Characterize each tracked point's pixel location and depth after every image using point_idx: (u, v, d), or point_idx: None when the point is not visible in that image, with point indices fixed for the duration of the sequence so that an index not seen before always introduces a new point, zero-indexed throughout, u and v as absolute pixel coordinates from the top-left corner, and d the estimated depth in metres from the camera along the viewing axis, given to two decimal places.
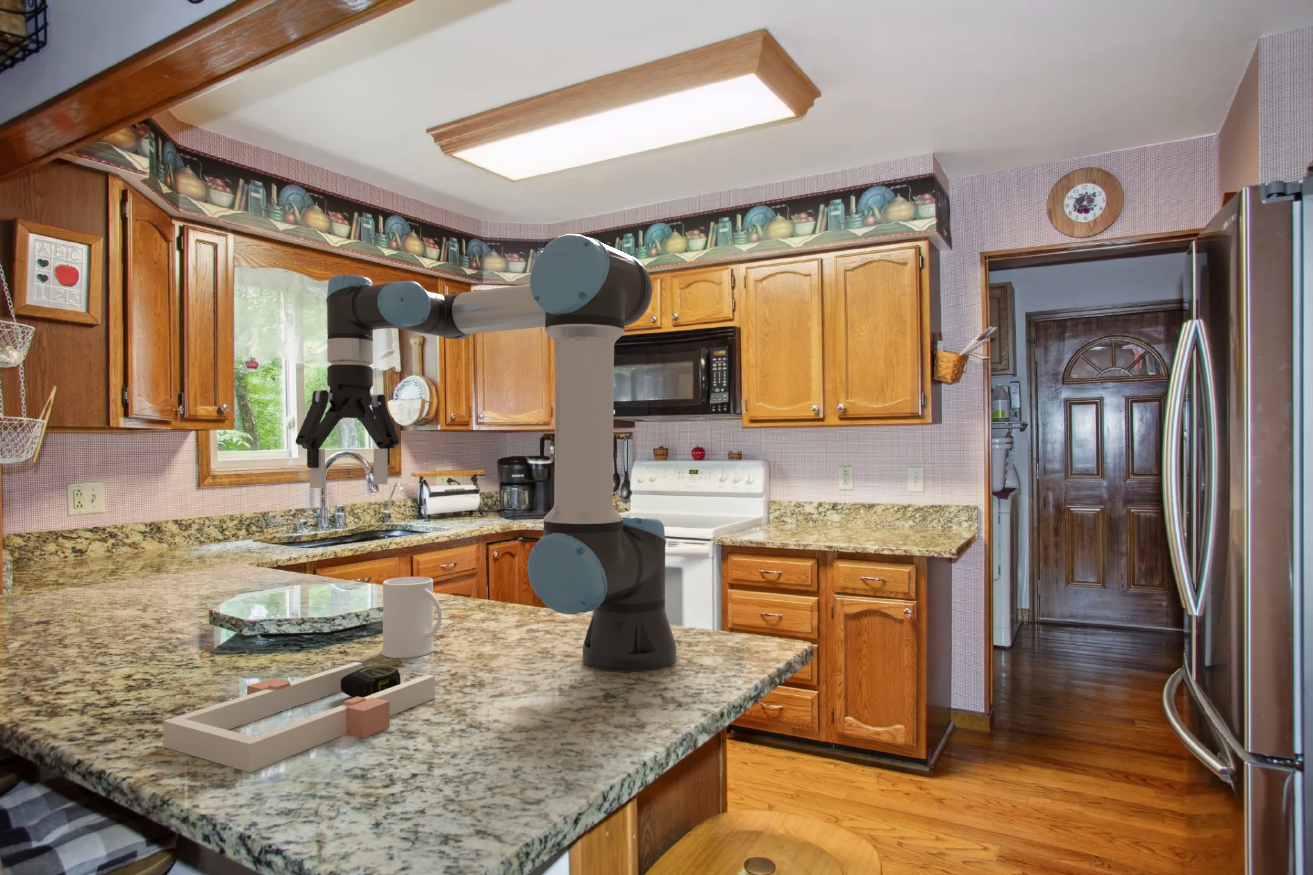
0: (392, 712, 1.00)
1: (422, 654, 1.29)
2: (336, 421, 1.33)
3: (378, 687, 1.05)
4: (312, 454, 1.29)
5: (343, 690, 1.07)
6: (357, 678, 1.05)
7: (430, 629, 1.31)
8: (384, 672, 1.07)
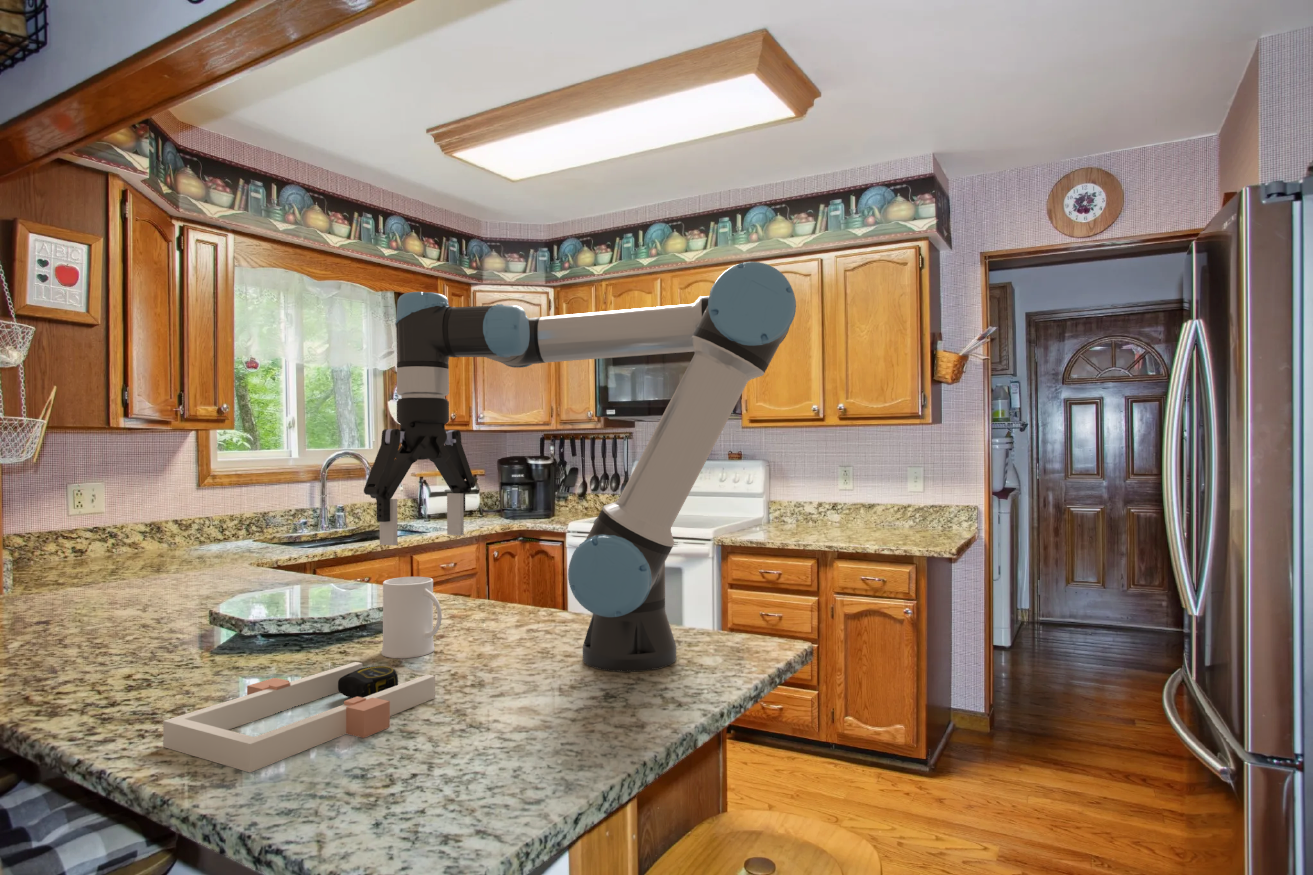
0: (392, 712, 1.00)
1: (422, 654, 1.29)
2: (409, 465, 1.13)
3: (375, 687, 1.05)
4: (383, 505, 1.09)
5: (340, 691, 1.06)
6: (355, 678, 1.05)
7: (430, 629, 1.31)
8: (382, 673, 1.07)
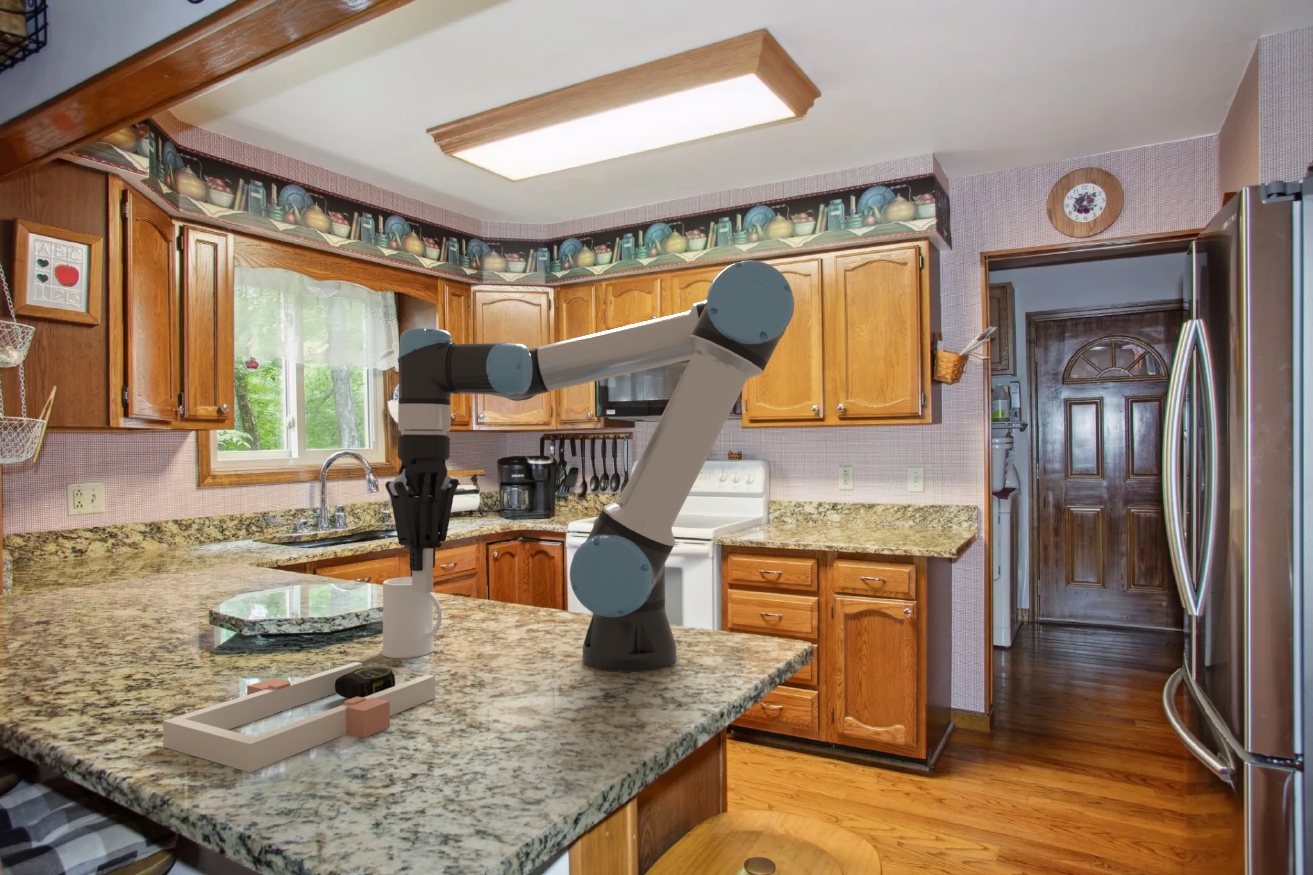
0: (392, 712, 1.00)
1: (422, 654, 1.29)
2: (424, 507, 1.15)
3: (372, 688, 1.04)
4: (416, 555, 1.14)
5: (337, 691, 1.06)
6: (352, 679, 1.05)
7: (430, 629, 1.31)
8: (379, 674, 1.07)
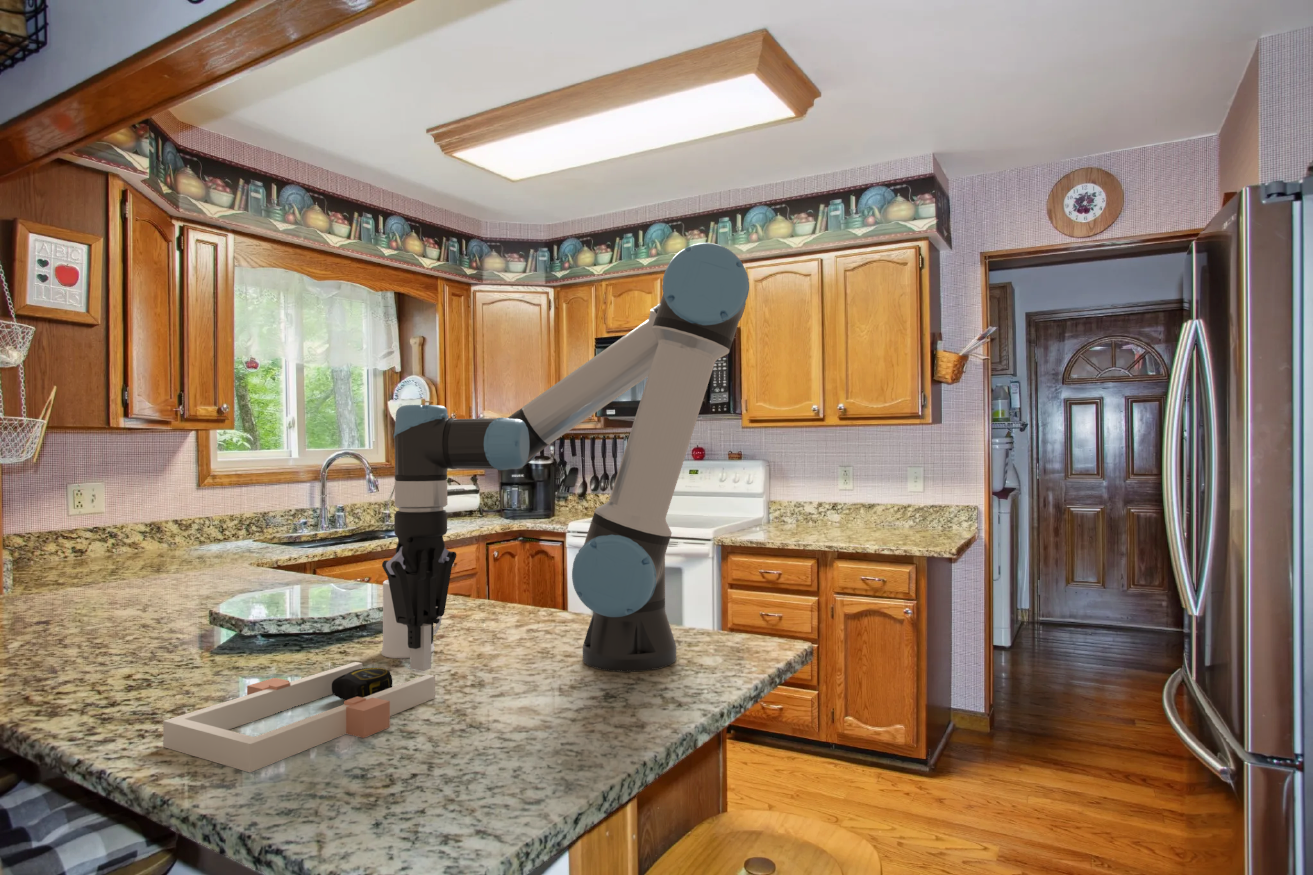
0: (392, 712, 1.00)
1: None
2: (421, 584, 1.14)
3: (369, 689, 1.04)
4: (414, 633, 1.14)
5: (334, 693, 1.06)
6: (348, 680, 1.04)
7: None
8: (376, 675, 1.06)
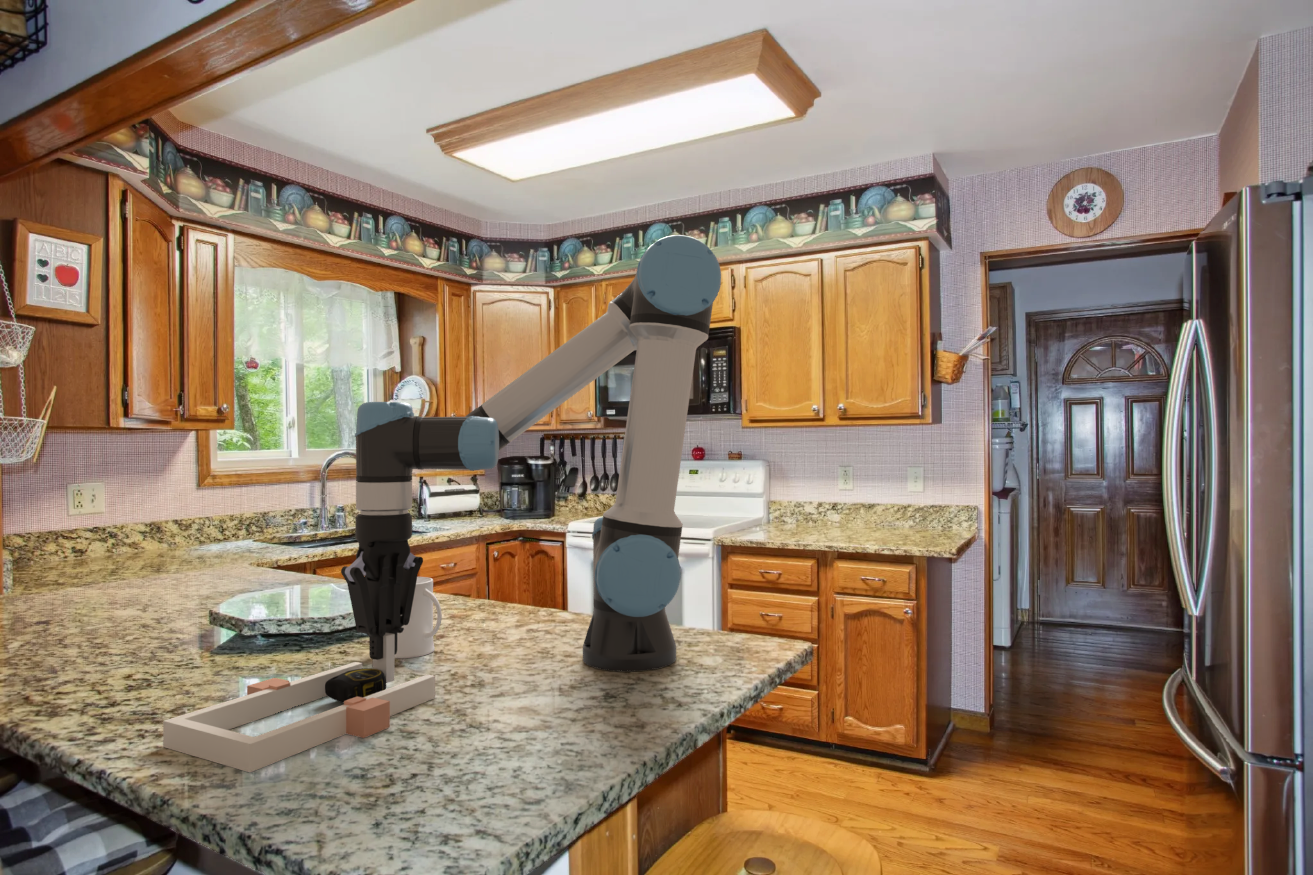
0: (392, 712, 1.00)
1: (422, 654, 1.29)
2: (384, 591, 1.08)
3: (362, 690, 1.03)
4: (376, 643, 1.07)
5: (327, 694, 1.05)
6: (342, 681, 1.03)
7: (430, 629, 1.31)
8: (370, 675, 1.05)
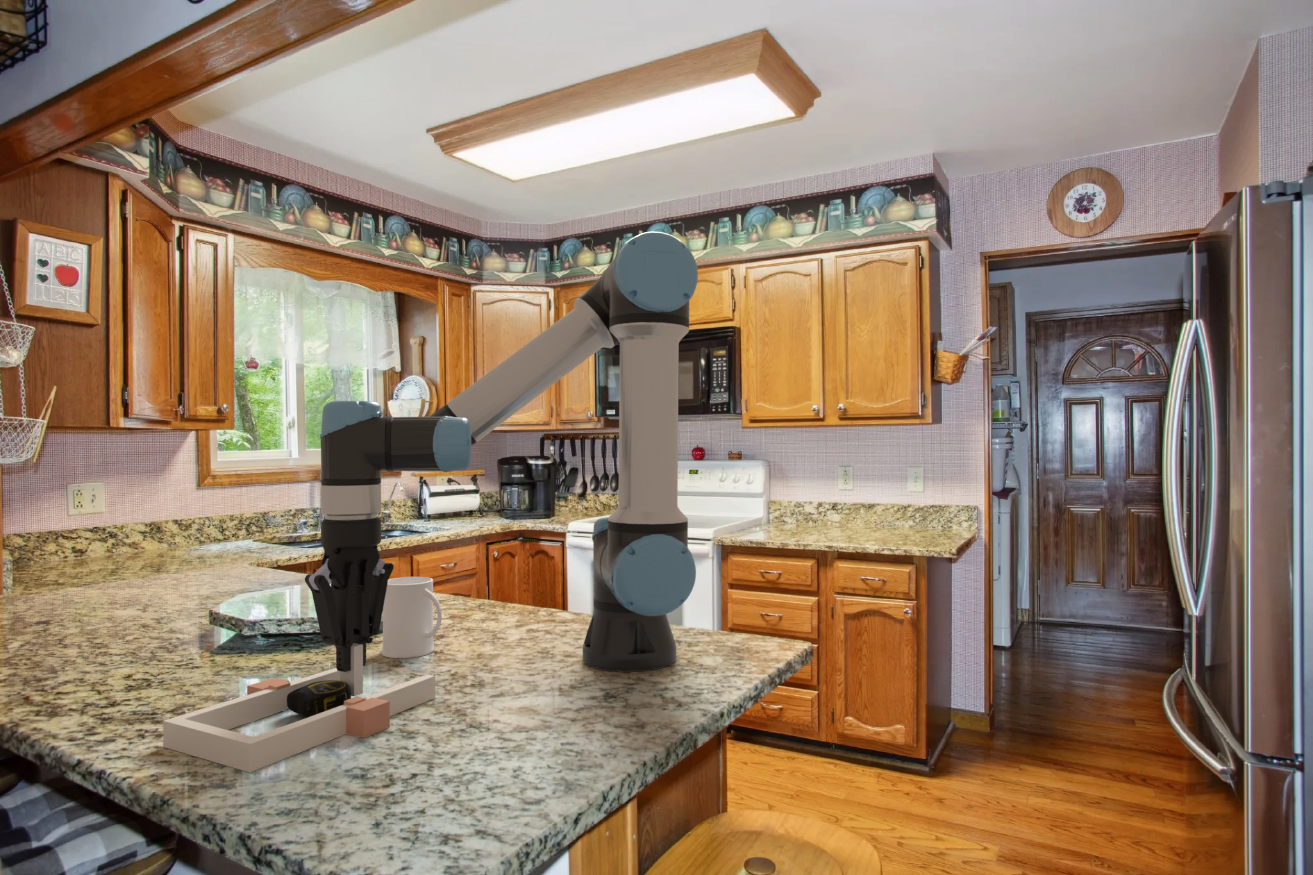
0: (392, 712, 1.00)
1: (422, 654, 1.29)
2: (351, 600, 1.03)
3: (323, 704, 0.98)
4: (343, 655, 1.02)
5: (289, 707, 1.00)
6: (303, 694, 0.99)
7: (430, 629, 1.31)
8: (333, 688, 1.00)
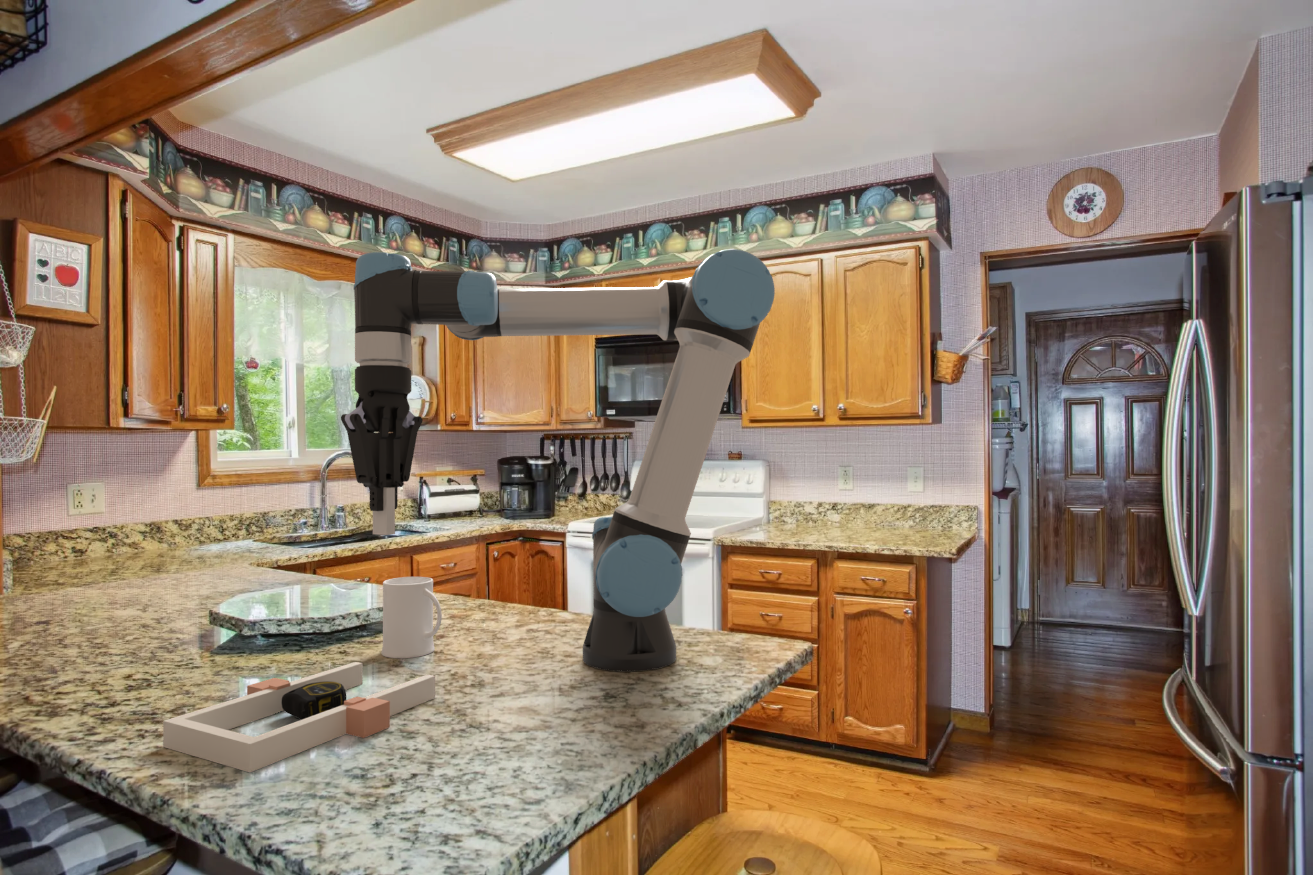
0: (392, 712, 1.00)
1: (422, 654, 1.29)
2: (384, 443, 1.08)
3: (318, 706, 0.97)
4: (376, 494, 1.07)
5: (284, 708, 0.99)
6: (298, 696, 0.98)
7: (430, 629, 1.31)
8: (328, 690, 1.00)
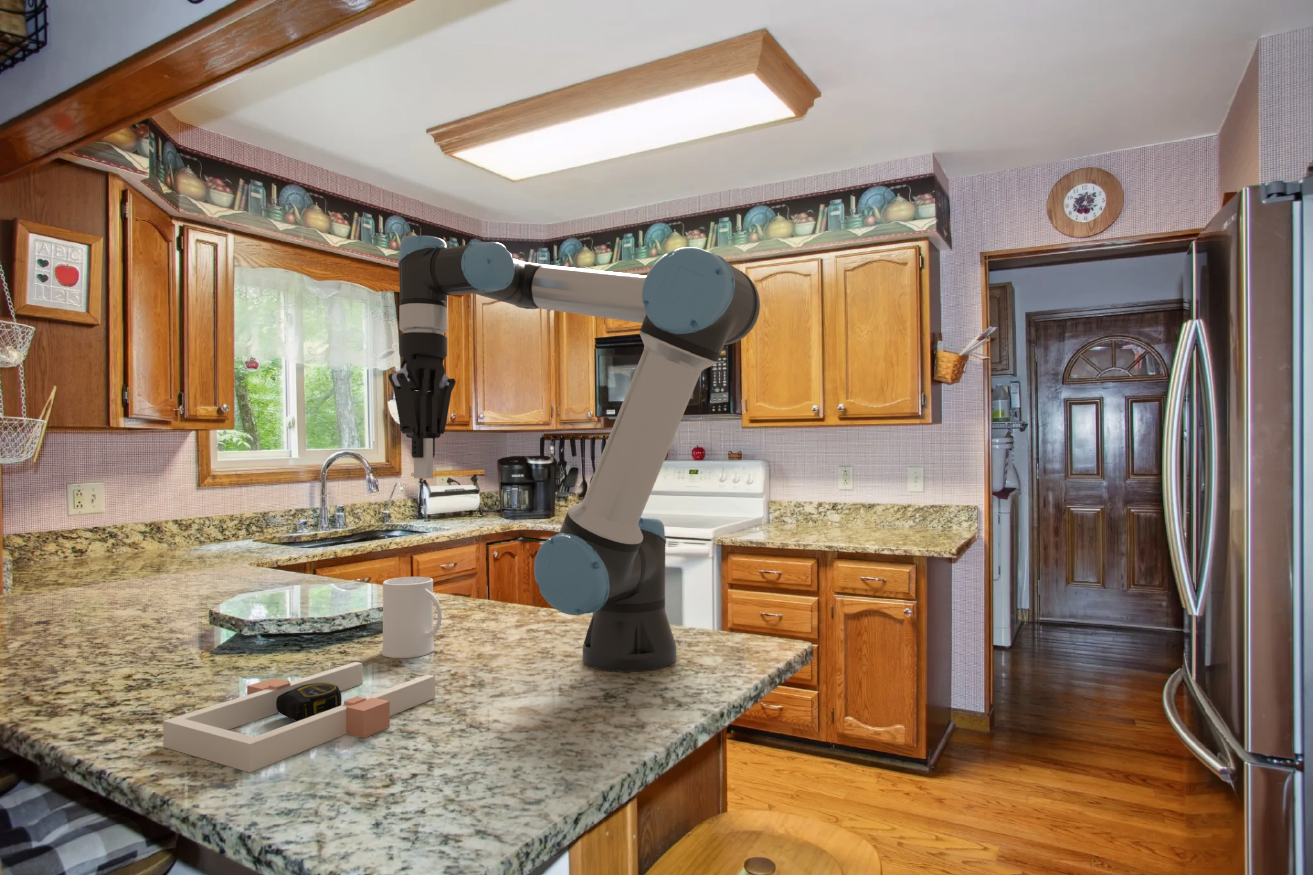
0: (392, 712, 1.00)
1: (422, 654, 1.29)
2: (424, 399, 1.26)
3: (313, 707, 0.97)
4: (417, 443, 1.25)
5: (278, 710, 0.99)
6: (292, 697, 0.97)
7: (430, 629, 1.31)
8: (323, 691, 0.99)
